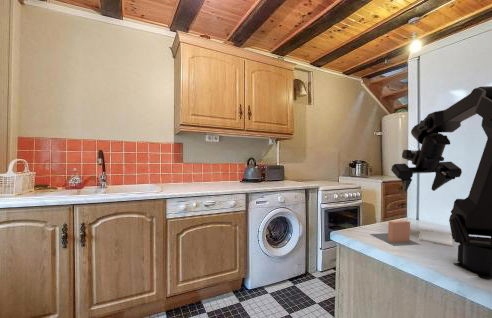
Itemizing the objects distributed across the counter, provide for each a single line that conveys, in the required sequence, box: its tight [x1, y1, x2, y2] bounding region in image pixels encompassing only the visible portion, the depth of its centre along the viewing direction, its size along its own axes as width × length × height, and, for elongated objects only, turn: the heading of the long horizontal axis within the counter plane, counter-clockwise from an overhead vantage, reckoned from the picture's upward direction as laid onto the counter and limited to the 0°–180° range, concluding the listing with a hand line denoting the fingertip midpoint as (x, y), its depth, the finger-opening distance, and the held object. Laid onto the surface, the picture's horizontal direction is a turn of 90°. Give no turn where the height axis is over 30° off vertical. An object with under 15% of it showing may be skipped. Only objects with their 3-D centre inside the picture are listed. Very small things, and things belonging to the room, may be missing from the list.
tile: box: [387, 220, 411, 243], centre depth 70 cm, size 2×6×6 cm, turn 100°
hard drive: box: [417, 228, 455, 248], centre depth 73 cm, size 2×8×12 cm
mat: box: [369, 232, 421, 247], centre depth 72 cm, size 10×9×1 cm
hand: (418, 190), depth 81 cm, fingers open, 9 cm apart
